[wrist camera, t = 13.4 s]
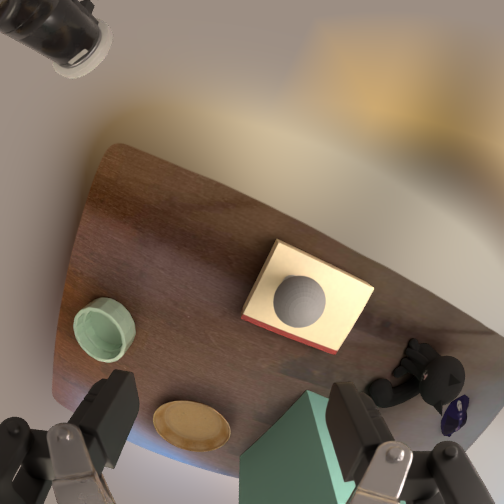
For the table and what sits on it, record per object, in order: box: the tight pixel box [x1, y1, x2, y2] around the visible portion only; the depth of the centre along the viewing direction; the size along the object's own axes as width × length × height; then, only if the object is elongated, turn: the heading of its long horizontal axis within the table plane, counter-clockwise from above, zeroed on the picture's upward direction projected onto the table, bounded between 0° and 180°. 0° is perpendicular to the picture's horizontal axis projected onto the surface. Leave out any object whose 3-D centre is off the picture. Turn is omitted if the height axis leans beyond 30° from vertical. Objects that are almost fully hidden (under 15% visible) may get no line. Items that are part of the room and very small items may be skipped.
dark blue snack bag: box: [441, 395, 469, 437], centre depth 49 cm, size 9×15×4 cm, turn 13°
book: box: [241, 239, 374, 355], centre depth 41 cm, size 16×12×3 cm
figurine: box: [369, 339, 465, 416], centre depth 39 cm, size 16×14×15 cm
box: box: [239, 390, 406, 504], centre depth 37 cm, size 23×21×26 cm
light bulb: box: [273, 275, 326, 328], centre depth 34 cm, size 6×6×10 cm
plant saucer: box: [153, 400, 231, 452], centre depth 47 cm, size 15×15×3 cm
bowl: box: [73, 297, 136, 363], centre depth 41 cm, size 10×10×5 cm
